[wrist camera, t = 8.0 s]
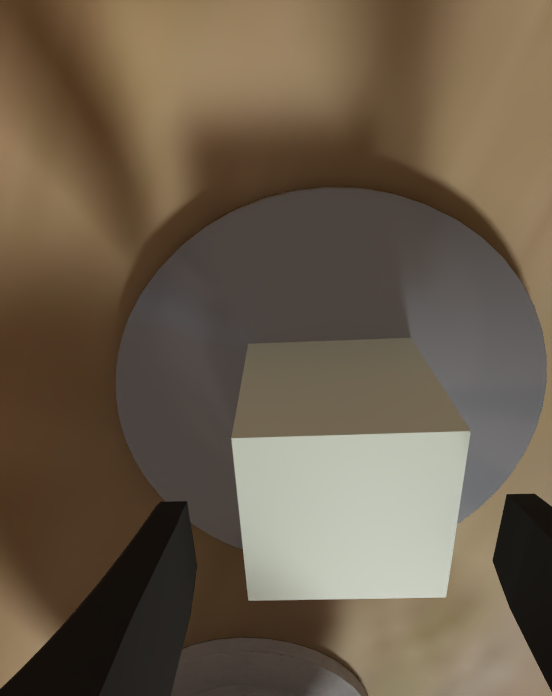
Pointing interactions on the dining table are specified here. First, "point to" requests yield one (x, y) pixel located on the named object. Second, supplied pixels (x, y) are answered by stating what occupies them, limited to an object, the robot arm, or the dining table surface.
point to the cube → (346, 471)
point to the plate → (323, 332)
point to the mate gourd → (260, 670)
